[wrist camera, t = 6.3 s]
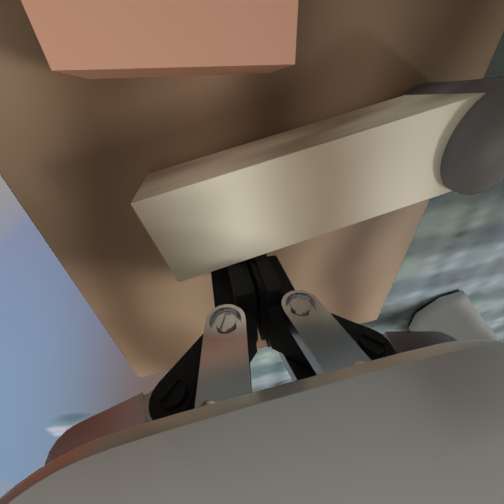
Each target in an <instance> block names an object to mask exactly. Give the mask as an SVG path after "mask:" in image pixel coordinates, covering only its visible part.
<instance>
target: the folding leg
mask: <svg viewBox="0 0 504 504" xmlns="http://www.w3.org/2000/svg"><path fill="white" fill-rule="evenodd" d="M503 180H504V77H498V78H485V79H473V80H460V81H447V82H434V83H426V84H422V85H419V86H417V87H415V88H413V89H412V90H410V91H409V92H408V93H406V94H405V95H403V96H400V97H397V98H394V99H390V100H387V101H384V102H380V103H377V104H374V105H371V106H367V107H364V108H361V109H358V110H354V111H351V112H348V113H344V114H341V115H338V116H335V117H331V118H328V119H325V120H322V121H318V122H315V123H312V124H309V125H305V126H302V127H299V128H295V129H292V130H289V131H286V132H282V133H279V134H276V135H273V136H269V137H266V138H263V139H259V140H256V141H253V142H250V143H246V144H243V145H240V146H237V147H233V148H230V149H227V150H223V151H220V152H217V153H214V154H210V155H207V156H204V157H201V158H197V159H194V160H191V161H188V162H184V163H181V164H178V165H174V166H171V167H168V168H165V169H161V170H158V171H155V172H152V173H148V174H147V176H146V178H145V179H144V181H143V183H142V185H141V186H140V188H139V190H138V192H137V193H136V195H135V197H134V198H133V200H132V202H131V205H132V207H133V209H134V210H135V212H136V214H137V215H138V217H139V219H140V220H141V222H142V223H143V225H144V227H145V228H146V230H147V232H148V233H149V235H150V236H151V238H152V240H153V241H154V243H155V245H156V246H157V248H158V250H159V251H160V253H161V254H162V256H163V258H164V259H165V261H166V263H167V264H168V266H169V268H170V269H171V271H172V272H173V274H174V276H175V277H176V279H177V281H178V282H182V281H185V280H188V279H191V278H194V277H197V276H200V275H203V274H206V273H209V272H212V271H215V270H218V269H221V268H224V267H227V266H230V265H233V264H236V263H239V262H242V261H245V260H248V259H251V258H254V257H257V256H260V255H263V254H266V253H269V252H272V251H275V250H278V249H281V248H284V247H287V246H290V245H293V244H296V243H298V242H301V241H304V240H307V239H310V238H313V237H316V236H319V235H322V234H325V233H328V232H331V231H334V230H337V229H340V228H343V227H346V226H349V225H352V224H355V223H358V222H361V221H364V220H367V219H370V218H373V217H376V216H379V215H382V214H385V213H388V212H391V211H394V210H397V209H400V208H403V207H406V206H409V205H412V204H415V203H418V202H421V201H424V200H427V199H430V198H433V197H436V196H439V195H442V194H445V193H448V192H451V191H455V192H458V193H461V194H465V195H472V194H477V193H481V192H483V191H486V190H488V189H490V188H492V187H493V186H495V185H497V184H498V183H500V182H501V181H503Z"/></svg>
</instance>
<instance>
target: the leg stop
mask: <svg viewBox="0 0 504 504" xmlns="http://www.w3.org/2000/svg"><path fill="white" fill-rule="evenodd" d="M21 2H22V4H23V6H24V9H25V11H26V13H27V16H28V18H29V20H30V22H31V25H32V27H33V29H34V32H35V34H36V36H37V38H38V41H39V43H40V45H41V48H42V50H43V52H44V54H45V57H46V59H47V61H48V64H49V66H50V68H51V71H55V72H60V73H64V74H69V75H73V76H78V77H82V78H87V79H109V78H140V77H170V76H201V75H231V74H262V73H272V72H275V71H277V70H280V69H283V68H286V67H289V66H292V65H294V64H295V55H296V37H297V18H298V0H21Z"/></svg>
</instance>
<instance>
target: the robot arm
mask: <svg viewBox="0 0 504 504" xmlns="http://www.w3.org/2000/svg"><path fill="white" fill-rule="evenodd" d="M211 278H212V286H213V295H214V304H215V308H214V309H213V310H211V311H210V312H209V314H208V315H207V317H206V320H205V326H204V333H203V334H202V335H201V336H200V338H199V339H198V340H197V341H196V342H195V343H194V344H193V345H192V346H191V348H190V349H189V350H188V351H187V352H186V353H185V354H184V355H183V356H182V358H181V359H180V360H179V361H178V362H177V363H176V364H175V365H174V366H173V367H172V369H171V370H170V371H169V372H168V373H167V374H166V375H165V377H164V378H163V379H162V380H161V381H160V382H159V383H158V384H157V386H156V387H155V389H154V390H153V391H151V392H149V393H147V394H145V395H144V394H143V393H140V394H138V395H136V396H134V397H132V398H130V399H128V400H125V401H124V402H121V403H119V404H117V405H115V406H113V407H111V408H109V409H107V410H105V411H103V412H100V413H98V414H96V415H94V416H92V417H90V418H88V419H86V420H84V421H82V422H80V423H78V424H76V425H74V426H73V427H71V428H70V429H68V430H67V431H66V432H65V433H64V434H63V435H62V436H61V437H60V438H59V439H58V440H57V441H56V442H55V444H54V445H53V447H52V448H51V450H50V451H49V454H48V457H47V460H46V463H45V465H44V466H43V467H41V468H40V469H38V470H36V471H35V472H34V473H33V474H31V475H29V476H28V477H27V478H25V479H24V480H23V481H21V482H20V483H18V484H17V485H15V486H14V487H13V488H12V489H10V490H9V491H8V492H7V493H6V494H4V495H3V496H2V497H1V498H0V504H504V341H496V340H482V339H470V340H456V339H455V338H453V337H452V336H450V335H447V334H445V333H442V332H436V331H405V332H385V334H381V333H379V332H377V331H375V330H372V329H370V328H367V327H365V326H362V325H360V324H357V323H355V322H352V321H350V320H347V319H345V318H342V317H340V316H337V315H335V314H332V313H330V312H329V311H328V310H327V309H326V308H325V306H324V305H323V304H322V303H321V302H320V301H319V300H318V298H317V297H315V296H314V295H313V294H311V293H309V292H307V291H303V290H295V289H294V287H293V285H292V283H291V282H290V280H289V278H288V276H287V274H286V272H285V271H284V269H283V267H282V265H281V263H280V261H279V260H278V258H277V256H276V255H273V256H267V255H266V254H263V255H260V256H257V257H254V258H251V259H248V260H245V261H242V262H239V263H236V264H233V265H230V266H227V267H224V268H221V269H218V270H215V271H212V272H211ZM258 331H259V334H260V338H261V340H266V343H267V346H268V347H270V346H271V347H272V348H273V349H275V350H276V351H278V352H279V354H280V357H281V359H282V361H283V363H284V365H285V367H286V369H287V371H288V373H289V375H290V376H291V378H292V380H293V382H290V383H286V384H283V385H279V386H275V387H272V388H268V389H264V390H260V391H257V392H253V393H252V384H251V369H250V362H251V360H252V359H253V357H254V356H255V354H256V353H257V342H258Z"/></svg>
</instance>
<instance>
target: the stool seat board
mask: <svg viewBox="0 0 504 504" xmlns="http://www.w3.org/2000/svg"><path fill="white" fill-rule="evenodd" d="M503 32H504V0H298V18H297V37H296V55H295V64H294V65H292V66H289V67H286V68H283V69H280V70H277V71H275V72H272V73H262V74H231V75H201V76H170V77H140V78H109V79H87V78H82V77H78V76H73V75H69V74H64V73H60V72H55V71H51V68H50V66H49V64H48V61H47V59H46V57H45V54H44V52H43V50H42V48H41V45H40V43H39V41H38V38H37V36H36V34H35V32H34V29H33V27H32V25H31V22H30V20H29V18H28V16H27V13H26V11H25V9H24V6H23V4H22V2H21V0H0V174H1V176H2V178H3V179H4V181H5V182H6V183H7V185H8V186H9V188H10V189H11V191H12V192H13V194H14V195H15V197H16V198H17V199H18V201H19V202H20V204H21V206H22V207H23V208H24V210H25V211H26V213H27V214H28V216H29V217H30V219H31V220H32V222H33V223H34V224H35V226H36V227H37V229H38V230H39V231H40V233H41V235H42V236H43V238H44V239H45V241H46V242H47V244H48V245H49V246H50V248H51V249H52V251H53V252H54V253H55V255H56V257H57V258H58V260H59V261H60V263H61V264H62V266H63V267H64V268H65V270H66V271H67V273H68V274H69V276H70V277H71V279H72V280H73V282H74V283H75V285H76V286H77V287H78V289H79V290H80V292H81V293H82V295H83V296H84V298H85V299H86V301H87V302H88V304H89V305H90V306H91V308H92V309H93V311H94V312H95V314H96V315H97V317H98V318H99V320H100V321H101V323H102V324H103V325H104V327H105V328H106V330H107V331H108V333H109V334H110V336H111V337H112V339H113V340H114V342H115V343H116V344H117V346H118V347H119V349H120V350H121V352H122V353H123V355H124V356H125V358H126V359H127V361H128V362H129V364H130V365H131V366H132V368H133V369H134V371H135V372H136V374H137V375H138V377H139V378H140V377H144V376H147V375H152V374H156V373H160V372H164V371H168V370H171V369H172V367H173V366H174V365H175V364H176V363H177V362H178V361H179V360H180V359H181V358H182V356H183V355H184V354H185V353H186V352H187V351H188V350H189V349H190V348H191V346H192V345H193V344H194V343H195V342H196V341H197V340H198V339H199V338H200V336H201V335H202V334H203V333H204V326H205V320H206V317H207V315H208V314H209V312H210V311H211V310H213V309H214V308H215V304H214V295H213V286H212V278H211V272H209V273H206V274H203V275H200V276H197V277H194V278H191V279H188V280H185V281H182V282H178V281H177V279H176V277H175V276H174V274H173V272H172V271H171V269H170V268H169V266H168V264H167V263H166V261H165V259H164V258H163V256H162V254H161V253H160V251H159V250H158V248H157V246H156V245H155V243H154V241H153V240H152V238H151V236H150V235H149V233H148V232H147V230H146V228H145V227H144V225H143V223H142V222H141V220H140V219H139V217H138V215H137V214H136V212H135V210H134V209H133V207H132V205H131V202H132V200H133V198H134V197H135V195H136V193H137V192H138V190H139V188H140V186H141V185H142V183H143V181H144V179H145V178H146V176H147V174H148V173H152V172H155V171H158V170H161V169H165V168H168V167H171V166H174V165H178V164H181V163H184V162H188V161H191V160H194V159H197V158H201V157H204V156H207V155H210V154H214V153H217V152H220V151H223V150H227V149H230V148H233V147H237V146H240V145H243V144H246V143H250V142H253V141H256V140H259V139H263V138H266V137H269V136H273V135H276V134H279V133H282V132H286V131H289V130H292V129H295V128H299V127H302V126H305V125H309V124H312V123H315V122H318V121H322V120H325V119H328V118H331V117H335V116H338V115H341V114H344V113H348V112H351V111H354V110H358V109H361V108H364V107H367V106H371V105H374V104H377V103H380V102H384V101H387V100H390V99H394V98H397V97H400V96H403V95H405V94H406V93H408V92H409V91H410V90H412V89H413V88H415V87H417V86H419V85H422V84H426V83H434V82H447V81H460V80H473V79H483V77H484V75H485V73H486V71H487V68H488V66H489V64H490V61H491V59H492V57H493V55H494V52H495V50H496V48H497V46H498V43H499V41H500V39H501V36H502V34H503ZM429 200H430V199H427V200H424V201H421V202H418V203H415V204H412V205H409V206H406V207H403V208H400V209H397V210H394V211H391V212H388V213H385V214H382V215H379V216H376V217H373V218H370V219H367V220H364V221H361V222H358V223H355V224H352V225H349V226H346V227H343V228H340V229H337V230H334V231H331V232H328V233H325V234H322V235H319V236H316V237H313V238H310V239H307V240H304V241H301V242H298V243H296V244H293V245H290V246H287V247H284V248H281V249H278V250H275V251H272V252H269V253H266V255H267V256H273V255H276V256H277V258H278V260H279V261H280V263H281V265H282V267H283V269H284V271H285V272H286V274H287V276H288V278H289V280H290V282H291V283H292V285H293V287H294V289H295V290H303V291H307V292H309V293H311V294H313V295H314V296H315V297H317V298H318V300H319V301H320V302H321V303H322V304H323V305H324V306H325V308H326V309H327V310H328V311H329V312H330V313H332V314H335V315H337V316H340V317H342V318H345V319H347V320H350V321H352V322H355V323H357V324H361V323H365V322H369V321H373V320H377V318H378V316H379V314H380V311H381V309H382V307H383V305H384V302H385V300H386V298H387V295H388V293H389V291H390V289H391V286H392V284H393V282H394V280H395V277H396V275H397V273H398V270H399V268H400V266H401V264H402V261H403V259H404V257H405V255H406V252H407V250H408V248H409V245H410V243H411V241H412V239H413V236H414V234H415V232H416V230H417V227H418V225H419V223H420V221H421V218H422V216H423V214H424V211H425V209H426V207H427V205H428V202H429ZM263 347H267V343H266V340H261V338H260V334H259V331H258V342H257V349H259V348H263Z"/></svg>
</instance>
